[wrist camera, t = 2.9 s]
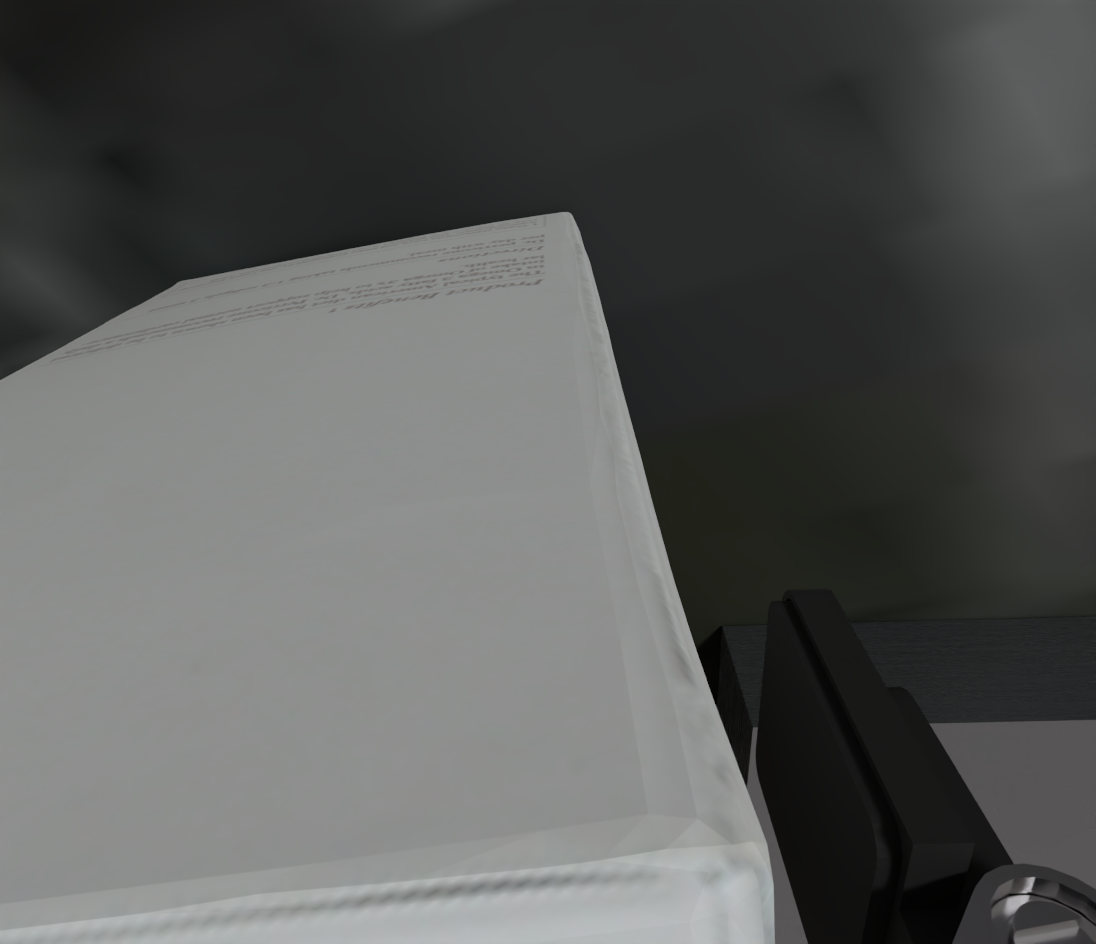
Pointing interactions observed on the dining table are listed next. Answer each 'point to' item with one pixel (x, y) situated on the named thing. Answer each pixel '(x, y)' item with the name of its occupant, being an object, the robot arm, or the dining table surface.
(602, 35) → the dining table surface
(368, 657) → the supplement box
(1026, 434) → the dining table surface
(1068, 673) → the stand plate
